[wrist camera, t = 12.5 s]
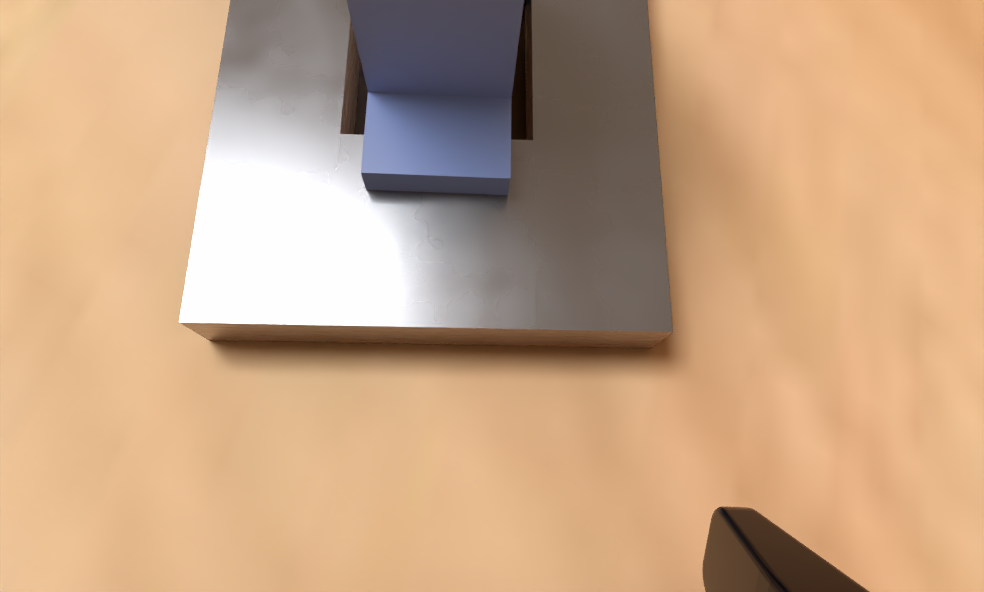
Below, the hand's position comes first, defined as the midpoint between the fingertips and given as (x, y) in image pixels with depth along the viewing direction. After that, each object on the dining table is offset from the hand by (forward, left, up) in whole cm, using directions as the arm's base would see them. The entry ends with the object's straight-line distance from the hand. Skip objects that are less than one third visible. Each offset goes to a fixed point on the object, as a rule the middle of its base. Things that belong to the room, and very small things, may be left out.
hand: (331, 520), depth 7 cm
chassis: (+12, -6, -10) cm, 17 cm away
